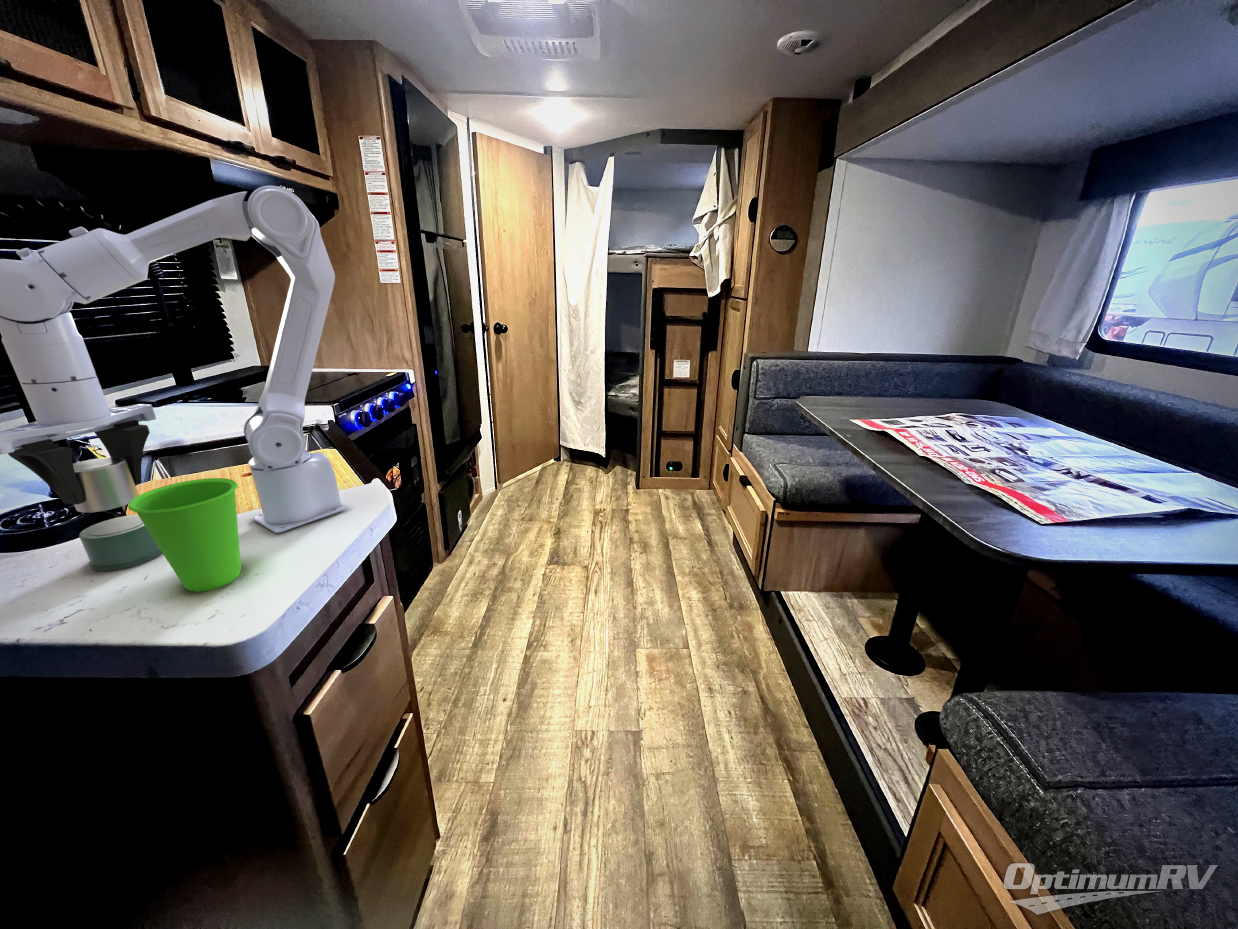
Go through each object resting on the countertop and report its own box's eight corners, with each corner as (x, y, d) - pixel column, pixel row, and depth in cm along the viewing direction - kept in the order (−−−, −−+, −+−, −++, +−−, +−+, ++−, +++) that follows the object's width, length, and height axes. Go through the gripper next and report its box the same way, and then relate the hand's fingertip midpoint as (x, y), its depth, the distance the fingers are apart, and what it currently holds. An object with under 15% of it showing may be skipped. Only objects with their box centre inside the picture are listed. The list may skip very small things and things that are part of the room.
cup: (207, 607, 50) (174, 514, 47) (139, 597, 52) (103, 506, 48) (280, 563, 59) (257, 481, 55) (219, 555, 60) (193, 475, 57)
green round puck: (157, 538, 65) (146, 508, 63) (175, 553, 61) (163, 521, 60) (83, 560, 59) (70, 528, 58) (98, 578, 56) (83, 544, 54)
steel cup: (132, 490, 61) (118, 453, 59) (145, 500, 58) (131, 461, 57) (71, 505, 57) (54, 466, 55) (82, 516, 54) (64, 475, 52)
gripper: (107, 368, 60) (144, 469, 65) (-66, 390, 47) (-4, 515, 51) (153, 370, 59) (187, 472, 63) (-12, 393, 45) (47, 521, 50)
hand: (105, 492), depth 57 cm, fingers closed on steel cup, 5 cm apart
